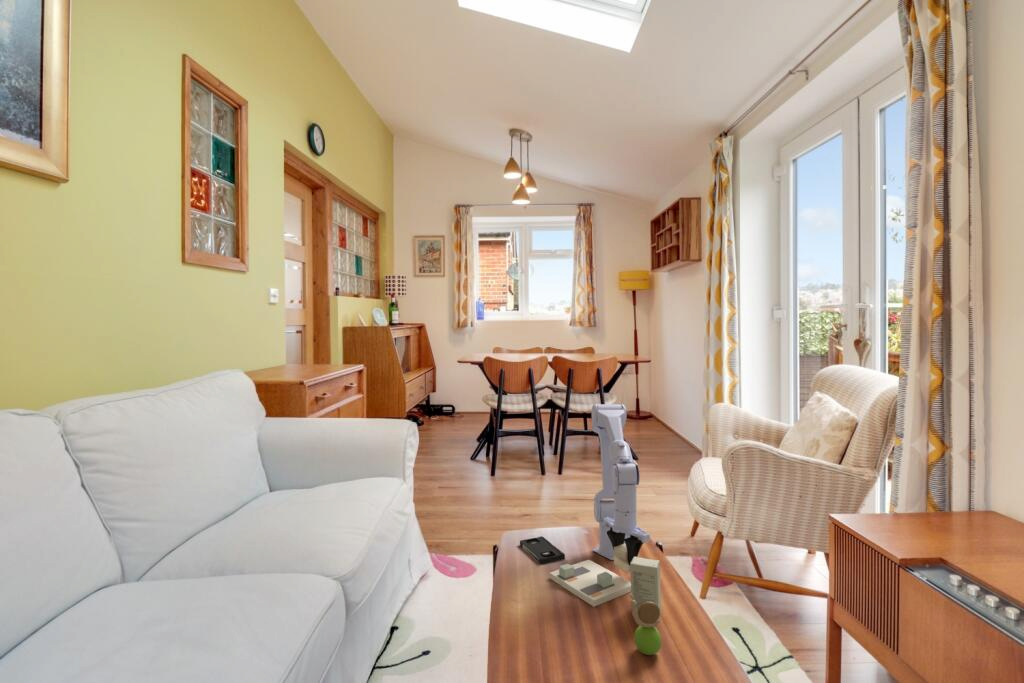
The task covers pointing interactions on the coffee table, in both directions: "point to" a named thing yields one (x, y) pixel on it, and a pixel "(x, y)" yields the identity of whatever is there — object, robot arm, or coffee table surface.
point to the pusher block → (621, 558)
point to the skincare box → (645, 581)
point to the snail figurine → (646, 627)
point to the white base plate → (592, 583)
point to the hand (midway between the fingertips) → (625, 560)
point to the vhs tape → (542, 550)
